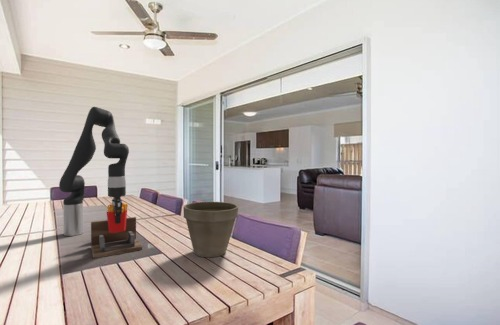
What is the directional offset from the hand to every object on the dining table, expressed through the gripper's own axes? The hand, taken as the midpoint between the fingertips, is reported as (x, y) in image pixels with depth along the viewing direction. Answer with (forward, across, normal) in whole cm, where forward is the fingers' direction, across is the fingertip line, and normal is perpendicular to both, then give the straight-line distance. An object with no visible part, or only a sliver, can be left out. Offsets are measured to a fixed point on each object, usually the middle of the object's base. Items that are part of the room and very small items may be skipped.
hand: (117, 222), depth 127 cm
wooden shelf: (+13, +2, 0) cm, 13 cm away
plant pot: (+14, -27, -36) cm, 47 cm away
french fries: (+4, 0, 0) cm, 4 cm away
